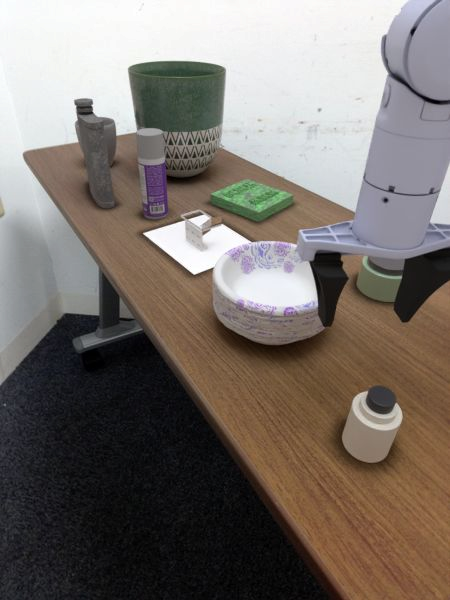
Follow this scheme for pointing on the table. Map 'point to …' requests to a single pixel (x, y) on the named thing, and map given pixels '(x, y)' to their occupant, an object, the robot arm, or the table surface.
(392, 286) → the green jar
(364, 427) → the small bottle
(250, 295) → the paper bowls
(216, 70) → the planter
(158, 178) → the container
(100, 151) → the flask
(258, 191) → the green jade tablet
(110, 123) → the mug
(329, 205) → the table surface
